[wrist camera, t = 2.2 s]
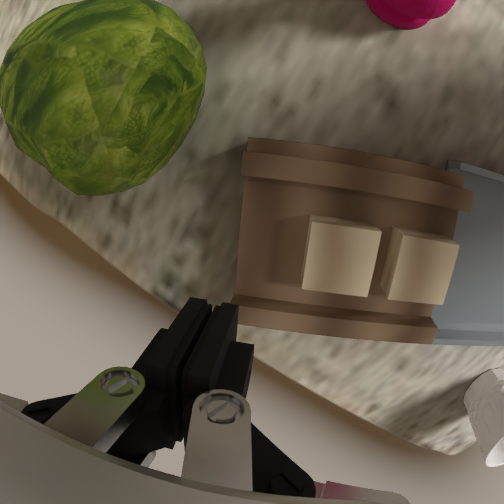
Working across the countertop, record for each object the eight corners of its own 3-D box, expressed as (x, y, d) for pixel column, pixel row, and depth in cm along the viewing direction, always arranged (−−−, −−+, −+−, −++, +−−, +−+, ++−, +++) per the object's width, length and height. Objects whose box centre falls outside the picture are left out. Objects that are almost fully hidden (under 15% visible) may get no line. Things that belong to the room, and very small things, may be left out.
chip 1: (373, 223, 21) (381, 231, 19) (361, 282, 23) (367, 297, 20) (310, 214, 22) (312, 221, 19) (301, 274, 23) (301, 289, 21)
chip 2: (445, 235, 21) (459, 245, 18) (431, 290, 22) (442, 305, 20) (392, 226, 21) (403, 235, 19) (379, 284, 23) (387, 299, 20)
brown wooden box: (443, 170, 23) (476, 177, 17) (408, 319, 27) (427, 354, 22) (255, 139, 25) (243, 136, 19) (240, 299, 29) (227, 333, 24)
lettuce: (86, 23, 26) (10, -23, 14) (253, 66, 22) (183, -44, 10) (29, 127, 29) (-59, 108, 16) (166, 219, 25) (33, 218, 12)
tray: (556, 197, 21) (570, 201, 19) (516, 334, 26) (526, 345, 24) (447, 160, 23) (460, 161, 20) (408, 329, 28) (415, 343, 25)
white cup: (481, 360, 28) (518, 417, 18) (519, 366, 27) (555, 415, 18) (447, 410, 30) (472, 470, 21) (488, 412, 30) (513, 463, 20)
